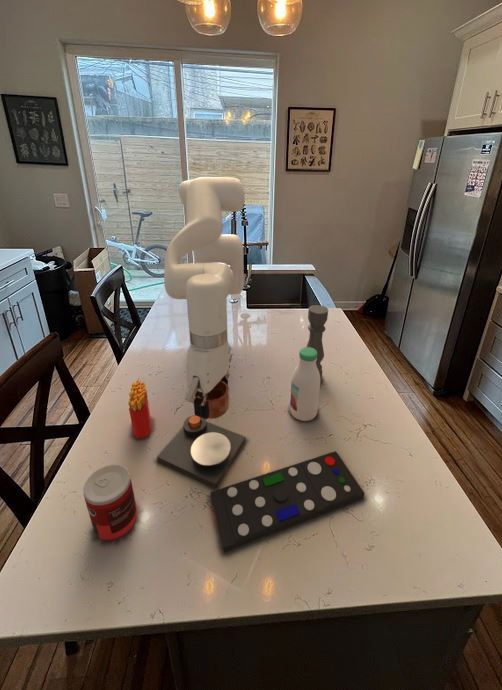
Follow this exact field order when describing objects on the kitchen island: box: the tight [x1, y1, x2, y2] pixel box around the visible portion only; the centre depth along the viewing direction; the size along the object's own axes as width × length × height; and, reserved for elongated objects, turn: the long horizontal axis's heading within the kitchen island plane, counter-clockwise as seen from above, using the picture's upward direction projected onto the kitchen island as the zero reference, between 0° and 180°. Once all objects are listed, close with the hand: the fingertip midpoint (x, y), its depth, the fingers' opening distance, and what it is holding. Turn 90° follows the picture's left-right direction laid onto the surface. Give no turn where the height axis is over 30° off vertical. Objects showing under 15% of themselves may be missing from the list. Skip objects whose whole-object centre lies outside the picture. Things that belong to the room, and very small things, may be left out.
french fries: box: [127, 378, 152, 439], centre depth 83 cm, size 9×4×13 cm, turn 18°
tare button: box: [189, 415, 201, 428], centre depth 84 cm, size 3×3×2 cm
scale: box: [156, 414, 247, 489], centre depth 79 cm, size 16×14×3 cm
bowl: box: [197, 380, 230, 420], centre depth 72 cm, size 7×7×5 cm
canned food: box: [82, 464, 138, 542], centre depth 62 cm, size 8×8×11 cm
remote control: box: [210, 450, 365, 553], centre depth 69 cm, size 11×30×2 cm, turn 111°
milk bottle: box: [289, 347, 321, 422], centre depth 89 cm, size 8×8×20 cm
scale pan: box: [191, 432, 231, 467], centre depth 76 cm, size 9×9×1 cm
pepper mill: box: [306, 304, 329, 384], centre depth 101 cm, size 6×6×25 cm
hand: (212, 403), depth 73 cm, fingers closed on bowl, 7 cm apart
